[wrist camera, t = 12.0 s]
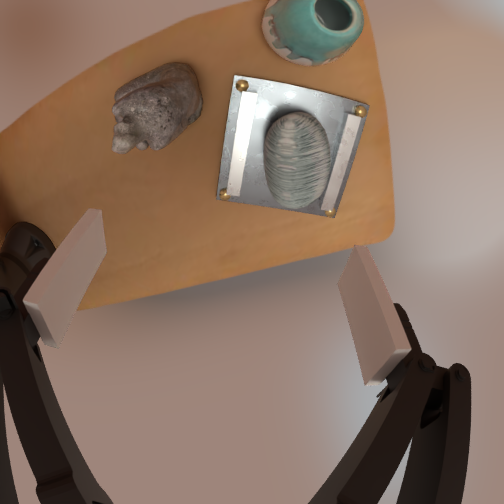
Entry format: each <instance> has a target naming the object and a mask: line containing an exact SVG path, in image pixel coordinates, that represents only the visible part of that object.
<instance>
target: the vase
mask: <svg viewBox="0 0 504 504" xmlns="http://www.w3.org/2000/svg"><path fill="white" fill-rule="evenodd" d="M261 25H262V31H263V35H264V37H265V39H266V41H267V43H268V45H269V46H270V47H271V48H272V50H273V51H274V52H275V53H277V54H278V55H279V56H280V57H282V58H283V59H285V60H287V61H289V62H292V63H294V64H298V65H302V66H321V65H325V64H329V63H331V62H334V61H336V60H337V59H339V58H341V57H342V56H343V55H345V54H346V53H347V52H348V51H349V50H350V48H351V47H352V45H353V44H354V42H355V41H356V40H357V39H358V37H359V36H360V34H361V32H362V30H363V26H364V16H363V12H362V9H361V7H360V5H359V4H358V2H357V1H356V0H270V1H269V2H268V4H267V6H266V8H265V10H264V14H263V17H262V23H261Z"/></svg>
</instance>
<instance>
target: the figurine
mask: <svg viewBox="0 0 504 504" xmlns="http://www.w3.org/2000/svg"><path fill="white" fill-rule="evenodd" d="M114 99H115V101H116V103H115V104H114V106H113V108H112V112H113V114H114V115H115V119H116V122H117V124H116V125H115V126H114V137H113V144H112V150H113V151H114V152H116V153H118V154H126V153H128V152H129V151H130V150H131V149H133V148H134V147H135V146H136V147H137V148H138V149H139V150H145V149H147V148H148V146H150V148H151V149H153V150H160V149H162V148H164V147H166V146H167V145H168V144H169V143H170V142H172V141H173V140H174V139H176V138H177V137H178V136H179V135H180V134H181V133H182V132H183V131H184V130H185V129H186V127H187V126H188V125H190V124H191V123H193V122H194V121H195V120H196V119H197V118H198V117H199V116H200V115H201V110H202V104H203V99H202V94H201V92H200V90H199V88H198V81H197V78H196V75H195V73H194V72H193V70H192V69H191V68H190V66H189V65H187V64H182V63H168V64H164V65H162V66H160V67H158V68H156V69H154V70H152V71H150V72H148V73H146V74H144V75H142V76H139V77H137V78H136V79H134V80H132V81H130V82H129V83H127V84H125V85H124V86H122V87H121V88H119V89H118V90H117V91H116V93H115V96H114Z"/></svg>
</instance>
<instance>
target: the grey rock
mask: <svg viewBox="0 0 504 504" xmlns="http://www.w3.org/2000/svg"><path fill="white" fill-rule="evenodd" d="M330 165H331V157H330V145H329V141H328V137H327V134H326V131H325V129H324V128H323V126H322V124H321V123H320V122H319V120H318V119H316V118H315V117H314V116H312V115H310V114H307V113H303V112H294V113H290V114H287V115H284V116H282V117H281V118H279V119H278V120H277V121H275V122H274V123H273V125H272V126H271V127H270V129H269V131H268V133H267V135H266V139H265V143H264V169H265V176H266V180H267V184H268V188H269V190H270V192H271V194H272V196H273V198H274V199H275V200H276V201H277V202H278V203H279V204H280V205H282V206H284V207H287V208H291V209H298V208H303V207H306V206H308V205H310V204H312V203H313V202H314V201H316V200H317V199H318V198H319V196H320V195H321V194H322V192H323V191H324V189H325V187H326V184H327V180H328V176H329V171H330Z"/></svg>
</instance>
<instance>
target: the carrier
mask: <svg viewBox="0 0 504 504" xmlns="http://www.w3.org/2000/svg"><path fill="white" fill-rule="evenodd" d="M368 110H369V105H367V104H364V103H361V102H358V101H354V100H351V99H348V98H344V97H341V96H337V95H333V94H330V93H326V92H322V91H318V90H314V89H309V88H305V87H301V86H296V85H291V84H287V83H281V82H276V81H271V80H265V79H259V78H253V77H246V76H239V75H234V81H233V87H232V93H231V99H230V106H229V112H228V119H227V125H226V132H225V139H224V146H223V153H222V160H221V167H220V175H219V182H218V190H217V198H216V199H217V200H223V201H231V202H238V203H245V204H252V205H259V206H265V207H272V208H278V209H285V210H291V211H297V212H303V213H309V214H315V215H320V216H326V217H332V218H335V215H336V212H337V209H338V206H339V203H340V200H341V198H342V195H343V192H344V189H345V186H346V182H347V179H348V176H349V173H350V170H351V167H352V164H353V161H354V157H355V154H356V151H357V148H358V144H359V141H360V138H361V134H362V131H363V127H364V124H365V121H366V117H367V113H368ZM294 112H303V113H307V114H310V115H312V116H314V117H315V118H316V119H318V120H319V122H320V123H321V124H322V126H323V128H324V129H325V131H326V134H327V137H328V141H329V145H330V157H331V165H330V171H329V176H328V180H327V184H326V187H325V189H324V191H323V192H322V194H321V195H320V196H319V198H318V199H317V200H316V201H314V202H313V203H312V204H310V205H308V206H306V207H303V208H298V209H291V208H287V207H284V206H282V205H280V204H279V203H278V202H277V201H276V200H275V199H274V198H273V196H272V194H271V192H270V190H269V188H268V184H267V180H266V176H265V169H264V143H265V139H266V135H267V133H268V131H269V129H270V127H271V126H272V125H273V123H274V122H275V121H277V120H278V119H279V118H281V117H282V116H284V115H287V114H290V113H294Z"/></svg>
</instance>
